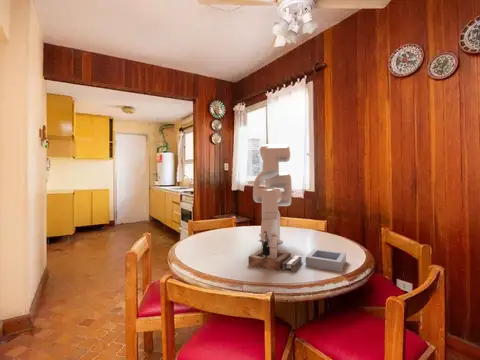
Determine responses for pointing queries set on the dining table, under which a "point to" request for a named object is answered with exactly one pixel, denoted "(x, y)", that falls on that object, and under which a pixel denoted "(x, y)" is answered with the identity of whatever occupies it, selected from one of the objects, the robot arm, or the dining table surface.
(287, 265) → the key
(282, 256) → the socket block
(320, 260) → the grey square tray
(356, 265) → the dining table surface
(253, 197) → the robot arm
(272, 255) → the syrup box
